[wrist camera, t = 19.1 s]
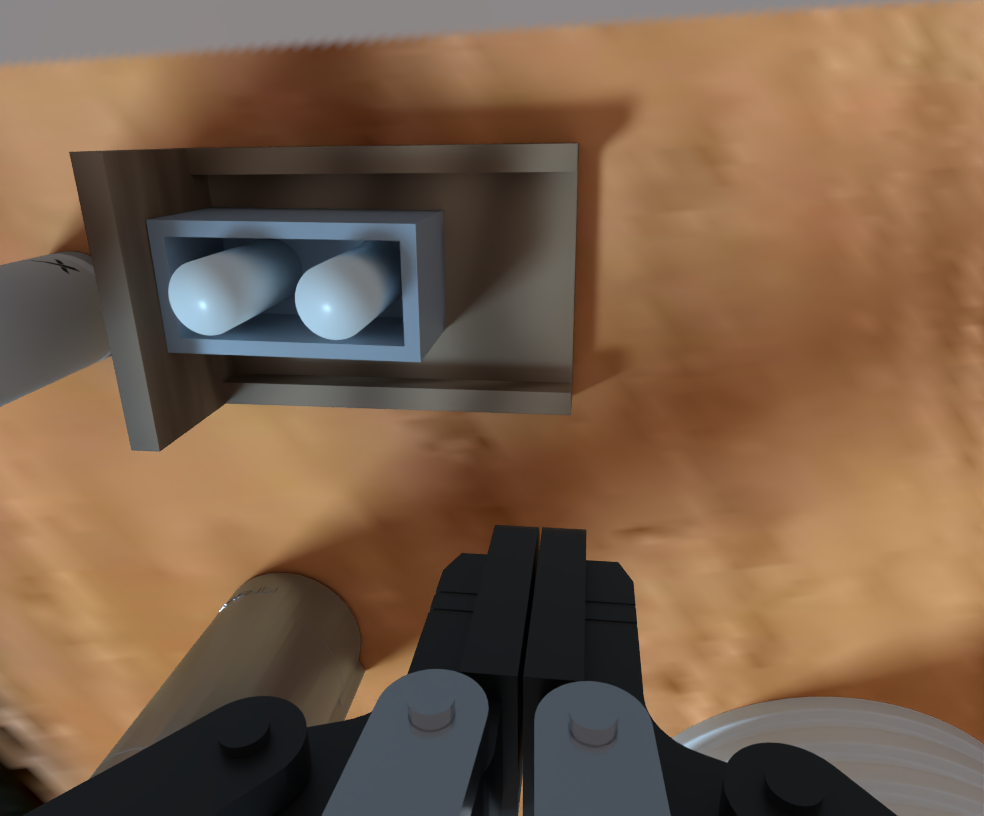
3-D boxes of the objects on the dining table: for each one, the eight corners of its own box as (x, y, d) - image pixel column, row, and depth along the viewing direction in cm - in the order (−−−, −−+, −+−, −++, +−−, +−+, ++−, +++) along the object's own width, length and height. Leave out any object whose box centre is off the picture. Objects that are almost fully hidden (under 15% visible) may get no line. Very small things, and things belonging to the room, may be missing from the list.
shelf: (578, 142, 35) (574, 145, 26) (571, 396, 39) (566, 469, 31) (189, 148, 37) (69, 152, 29) (225, 385, 42) (131, 450, 33)
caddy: (443, 209, 35) (405, 229, 28) (446, 328, 38) (411, 374, 30) (213, 207, 37) (120, 224, 30) (228, 321, 39) (145, 363, 32)
